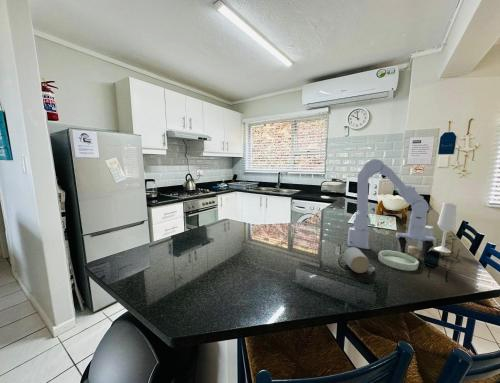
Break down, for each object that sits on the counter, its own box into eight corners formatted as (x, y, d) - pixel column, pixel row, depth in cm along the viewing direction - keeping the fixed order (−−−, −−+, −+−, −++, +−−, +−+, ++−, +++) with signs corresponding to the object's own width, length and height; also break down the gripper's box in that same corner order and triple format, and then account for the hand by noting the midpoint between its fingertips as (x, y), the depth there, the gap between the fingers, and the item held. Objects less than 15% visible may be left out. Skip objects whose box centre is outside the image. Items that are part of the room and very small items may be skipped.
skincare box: (426, 252, 104) (430, 228, 103) (415, 249, 108) (419, 226, 106) (431, 250, 108) (435, 226, 106) (420, 247, 111) (424, 224, 110)
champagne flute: (454, 253, 104) (462, 205, 101) (437, 251, 106) (445, 203, 103) (446, 248, 110) (454, 203, 107) (431, 246, 113) (438, 201, 109)
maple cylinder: (408, 258, 96) (410, 248, 95) (405, 255, 100) (407, 245, 99) (419, 260, 95) (420, 249, 94) (416, 257, 98) (417, 246, 98)
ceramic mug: (350, 274, 80) (352, 254, 79) (341, 263, 89) (343, 246, 88) (378, 276, 80) (381, 256, 79) (367, 265, 88) (370, 247, 87)
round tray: (381, 266, 88) (382, 260, 87) (375, 253, 101) (376, 248, 100) (423, 273, 83) (424, 267, 82) (411, 259, 96) (411, 253, 95)
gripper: (400, 226, 94) (396, 255, 96) (441, 230, 89) (436, 261, 91) (396, 222, 101) (392, 249, 102) (434, 226, 95) (429, 255, 97)
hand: (412, 255), depth 97 cm, fingers open, 7 cm apart
